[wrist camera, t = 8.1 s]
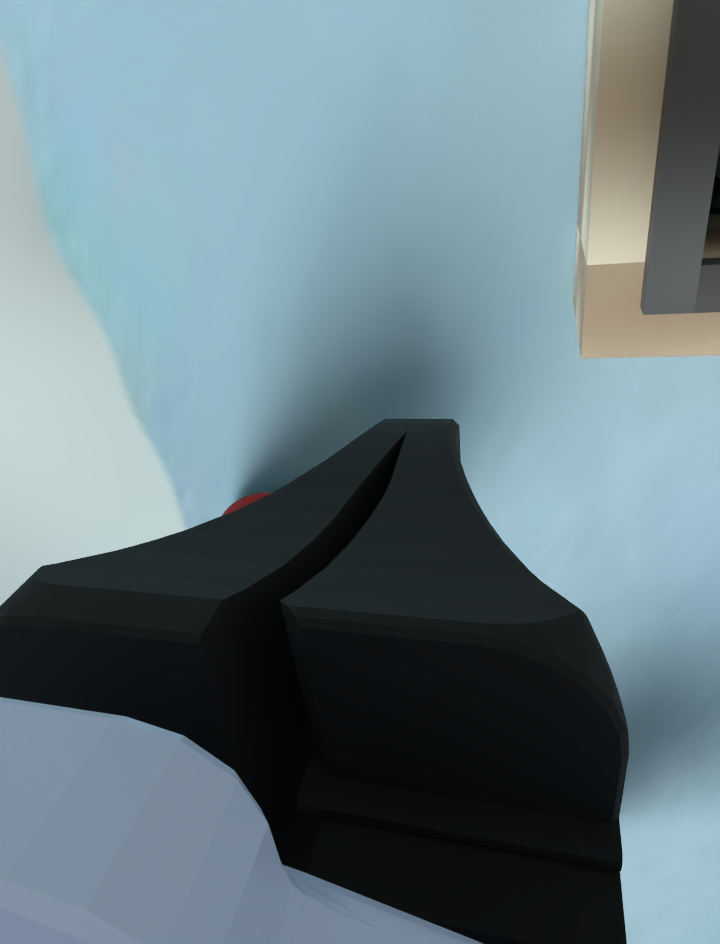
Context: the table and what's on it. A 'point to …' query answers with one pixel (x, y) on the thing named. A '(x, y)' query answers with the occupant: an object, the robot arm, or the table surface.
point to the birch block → (649, 181)
